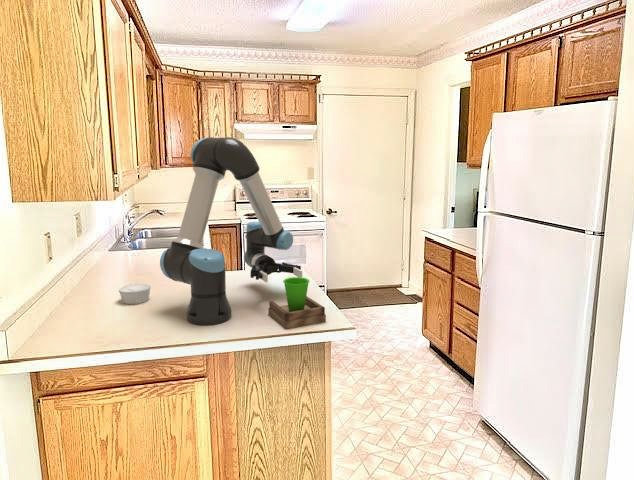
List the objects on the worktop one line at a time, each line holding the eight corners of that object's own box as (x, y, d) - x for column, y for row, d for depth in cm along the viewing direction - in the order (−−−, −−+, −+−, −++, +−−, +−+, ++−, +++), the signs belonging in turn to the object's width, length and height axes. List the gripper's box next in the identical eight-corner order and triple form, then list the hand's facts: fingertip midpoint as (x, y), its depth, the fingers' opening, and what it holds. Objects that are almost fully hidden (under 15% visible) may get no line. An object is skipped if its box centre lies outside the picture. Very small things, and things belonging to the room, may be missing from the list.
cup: (306, 316, 156) (306, 285, 154) (280, 314, 158) (279, 283, 156) (311, 307, 165) (312, 277, 163) (287, 306, 167) (286, 276, 165)
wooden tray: (285, 329, 152) (285, 314, 151) (268, 314, 165) (268, 301, 164) (325, 321, 159) (325, 307, 158) (306, 308, 172) (306, 295, 171)
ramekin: (113, 304, 175) (112, 291, 174) (129, 295, 186) (128, 282, 185) (141, 306, 174) (140, 292, 173) (156, 297, 184) (155, 284, 183)
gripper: (292, 270, 194) (315, 282, 175) (233, 276, 182) (251, 290, 164) (292, 252, 192) (315, 263, 174) (233, 257, 181) (251, 269, 162)
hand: (284, 276), depth 169 cm, fingers open, 13 cm apart
